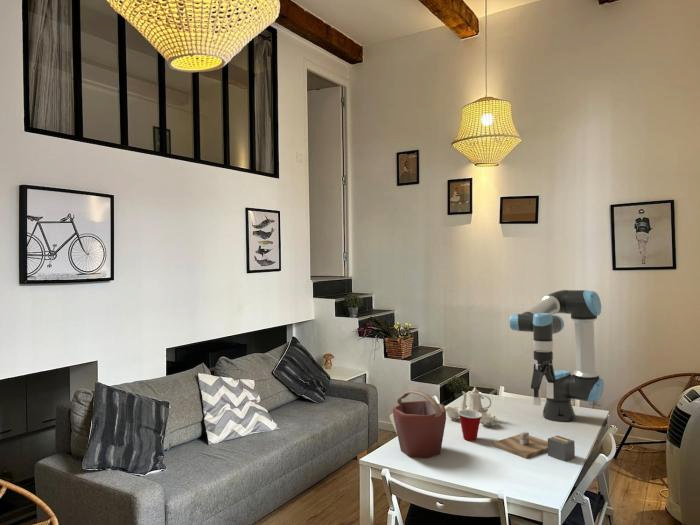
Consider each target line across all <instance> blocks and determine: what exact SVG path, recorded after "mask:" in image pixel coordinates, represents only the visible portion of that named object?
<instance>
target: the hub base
mask: <svg viewBox="0 0 700 525" xmlns="http://www.w3.org/2000/svg"><path fill="white" fill-rule="evenodd" d="M529 433H530V432H528V431H525V432H524V431H523V432H521V433H520V432H519V434H515V435H513V436H509V437H505V438H503V439H500V440H496V441H494V442H492V443H491V444H492V447H494V448H496V449H499V450H502V451H505V452H507V453H510V454H513V455H514V456H518V457H521V458H524V459H531V458H532V457H535V456H538V455H541V454H545V453H548V440H544V439H543V438H542V439H541V438H539V437H536V436H533V435H530V434H529Z"/></svg>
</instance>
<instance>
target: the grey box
mask: <svg viewBox="0 0 700 525" xmlns="http://www.w3.org/2000/svg"><path fill="white" fill-rule="evenodd" d="M547 441H548V451H547V456H548V457H551V458H553V459H556V460H560V461H562V462H567V461H568V462H569V461H571V460H573V459H575V456H576V454H575V451H576V450H575V448H576V447H575V440H573V439H570V438H566V437H563V436H561V435H555V436H551V437H549V438H547Z"/></svg>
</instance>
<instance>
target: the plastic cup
mask: <svg viewBox="0 0 700 525" xmlns="http://www.w3.org/2000/svg"><path fill="white" fill-rule="evenodd" d="M458 414H459V422H460V427H461V432H462V436H463V437H462V438H463V439H464V440H465V441H468V442H472V441H476V440H477V439H478V433H479V429H480V423H481V422H480V419H481V417H482V414H481V413H480V412H477V411H474V410H460V411H458Z"/></svg>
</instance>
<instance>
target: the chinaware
mask: <svg viewBox="0 0 700 525" xmlns="http://www.w3.org/2000/svg"><path fill="white" fill-rule="evenodd" d="M461 392H462V394H463V395H462V396H463V397H462V400H461V405H460V407H458V406H455V407H451V406H448V407H446V408H445V410H446V416H447V417H449V419H450V421H454V422H455V421H458V419H460V417H459V414H458V411H460V410H474V411H477V412H480V413H481V414H482V417H481V419H480V422H479V423H480V424H482V426H483V427H485V428H488V427H490V426H491V427H492V426H493V425H495V426H496V425H497V424H499V420H498V419H497V418H496V415H495V414H494V413H492V412H491V413H488V411H489V410H488V409H489V408H490V407H491V405H492V400H491V398H490V396H487V395H482V394H483V393H482V392H481V391H479V390H478V389H477V388H476V387H474V388H473V389H472V390H471V391H469V392H468V395H469V403H468V405H467V393H466V392H465V391H463V390H462V391H461ZM485 398H487V399H488V400H489V405H488V406H487V407H483V405H482V400H484V399H485ZM494 420H496V421H497V422H496V423H493V422H494Z"/></svg>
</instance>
